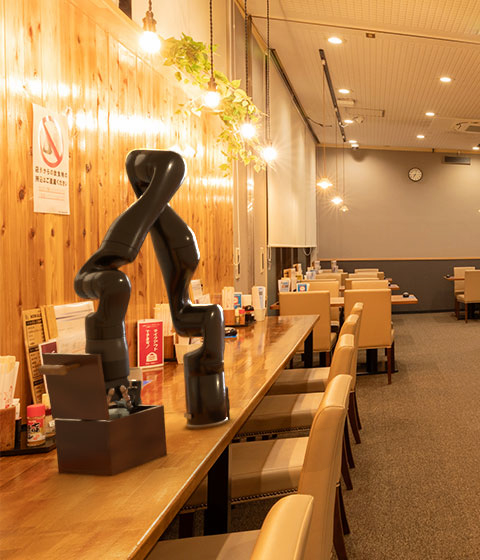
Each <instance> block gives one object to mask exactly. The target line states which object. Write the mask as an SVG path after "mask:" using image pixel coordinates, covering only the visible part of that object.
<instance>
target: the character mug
mask: <svg viewBox="0 0 480 560" xmlns="http://www.w3.org/2000/svg"><path fill="white" fill-rule="evenodd" d="M143 374H144V373H143V368H142V367H139V366H136V367H135V366H134V367H133V366H132V367H131V366H130V375H129V376H128V377H127V378H128V380H129V381H130V380H140V381H141V382H142V385H141V390H143V389H144V376H143ZM126 392H127V390H126ZM133 401H134V396H133ZM139 405H143V400H142V395H140V404H139Z"/></svg>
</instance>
